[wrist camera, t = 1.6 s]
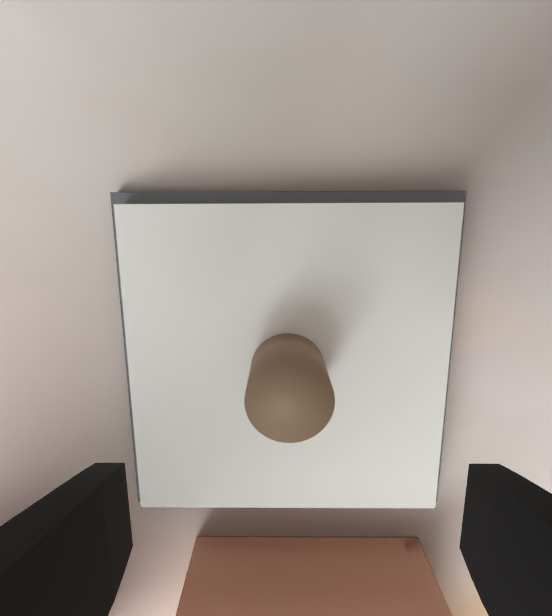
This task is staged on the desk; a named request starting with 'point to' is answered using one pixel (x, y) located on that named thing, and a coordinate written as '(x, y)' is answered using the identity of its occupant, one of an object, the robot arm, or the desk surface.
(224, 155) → the desk surface
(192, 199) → the mat
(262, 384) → the lid
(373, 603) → the dish
